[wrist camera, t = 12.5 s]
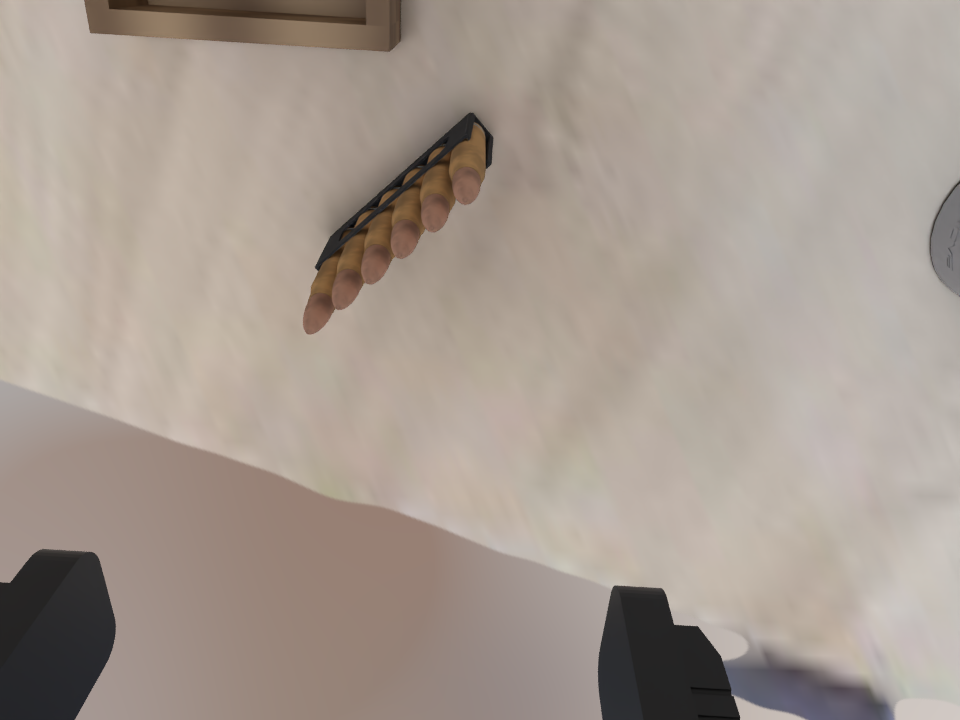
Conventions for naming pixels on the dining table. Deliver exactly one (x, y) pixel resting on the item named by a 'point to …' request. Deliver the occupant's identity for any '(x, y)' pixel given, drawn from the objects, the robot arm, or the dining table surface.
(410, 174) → the ammunition clip
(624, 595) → the robot arm
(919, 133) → the dining table surface
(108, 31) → the wooden box
